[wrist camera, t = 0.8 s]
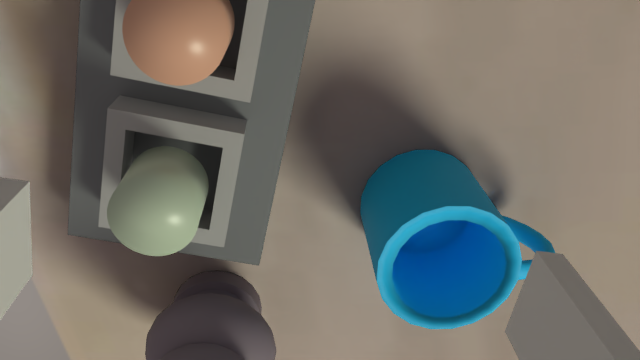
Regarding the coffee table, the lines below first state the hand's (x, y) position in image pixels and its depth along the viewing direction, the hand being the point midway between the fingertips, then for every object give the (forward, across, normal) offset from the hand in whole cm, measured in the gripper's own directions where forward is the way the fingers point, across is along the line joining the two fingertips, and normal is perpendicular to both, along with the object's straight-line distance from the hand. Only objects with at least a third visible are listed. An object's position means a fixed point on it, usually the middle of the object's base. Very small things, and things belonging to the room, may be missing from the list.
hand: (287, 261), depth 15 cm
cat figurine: (+22, -2, -19) cm, 29 cm away
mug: (+22, +12, -8) cm, 27 cm away
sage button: (+16, -6, -6) cm, 19 cm away
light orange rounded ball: (+16, -5, +3) cm, 18 cm away
